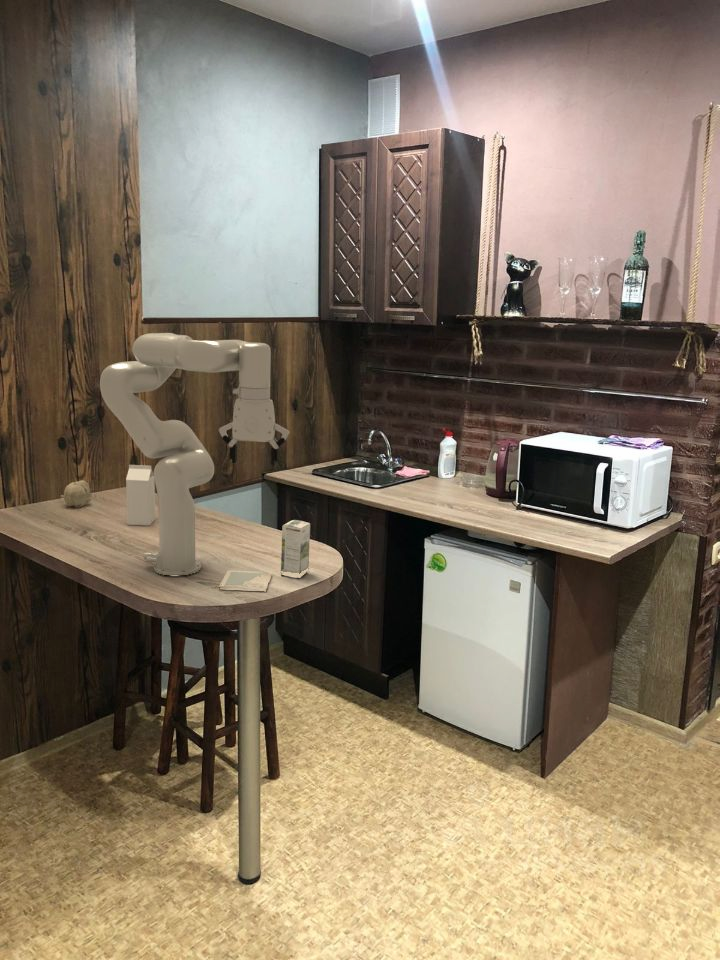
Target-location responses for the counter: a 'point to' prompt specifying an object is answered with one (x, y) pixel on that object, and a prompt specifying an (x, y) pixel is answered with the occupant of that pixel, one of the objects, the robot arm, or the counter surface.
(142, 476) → the milk carton
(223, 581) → the plate
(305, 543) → the syrup box
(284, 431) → the robot arm
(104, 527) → the counter surface
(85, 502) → the beige lumpy ball
